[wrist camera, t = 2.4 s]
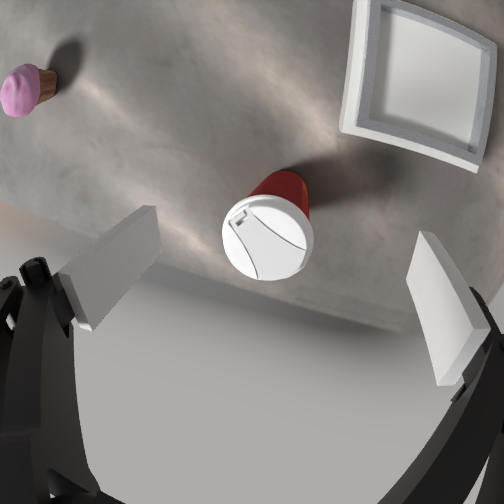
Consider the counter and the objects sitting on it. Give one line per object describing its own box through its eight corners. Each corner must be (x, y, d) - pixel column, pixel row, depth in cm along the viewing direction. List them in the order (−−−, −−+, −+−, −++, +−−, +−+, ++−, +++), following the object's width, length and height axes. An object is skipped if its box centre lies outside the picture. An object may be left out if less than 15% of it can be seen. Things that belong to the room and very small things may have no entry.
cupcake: (67, 57, 30) (19, 60, 21) (65, 107, 34) (17, 118, 26) (37, 66, 31) (-7, 73, 22) (36, 111, 35) (-7, 124, 27)
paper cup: (241, 186, 36) (199, 236, 24) (289, 148, 32) (270, 180, 20) (280, 232, 38) (259, 300, 26) (329, 199, 34) (333, 259, 22)
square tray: (338, 127, 29) (343, 134, 24) (352, 3, 21) (360, -18, 15) (458, 162, 27) (485, 178, 21) (475, 47, 19) (504, 41, 13)
